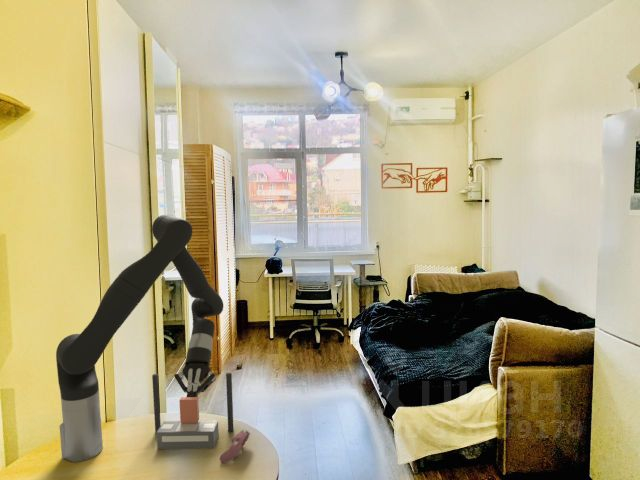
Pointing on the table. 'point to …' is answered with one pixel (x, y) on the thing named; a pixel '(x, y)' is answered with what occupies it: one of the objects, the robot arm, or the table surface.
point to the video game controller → (235, 446)
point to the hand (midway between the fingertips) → (190, 405)
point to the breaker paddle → (189, 410)
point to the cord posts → (157, 404)
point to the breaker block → (187, 435)
